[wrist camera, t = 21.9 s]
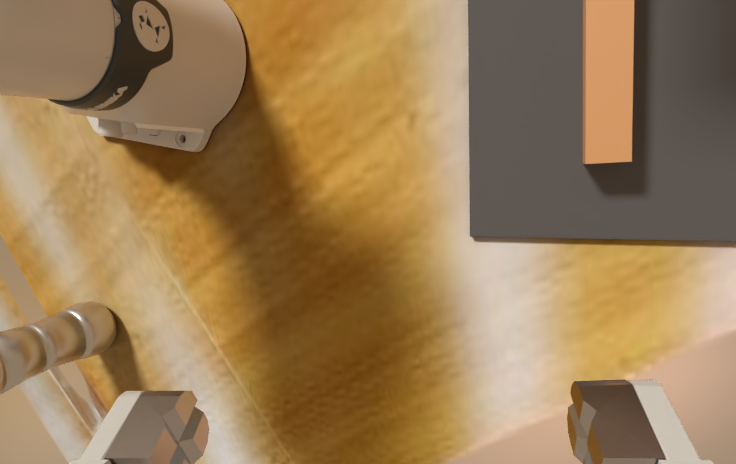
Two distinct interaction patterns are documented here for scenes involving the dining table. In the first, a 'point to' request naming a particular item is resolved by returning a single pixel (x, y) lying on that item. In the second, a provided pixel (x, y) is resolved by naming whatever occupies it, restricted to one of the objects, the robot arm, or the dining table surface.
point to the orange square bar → (607, 80)
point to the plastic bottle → (54, 342)
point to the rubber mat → (565, 124)
